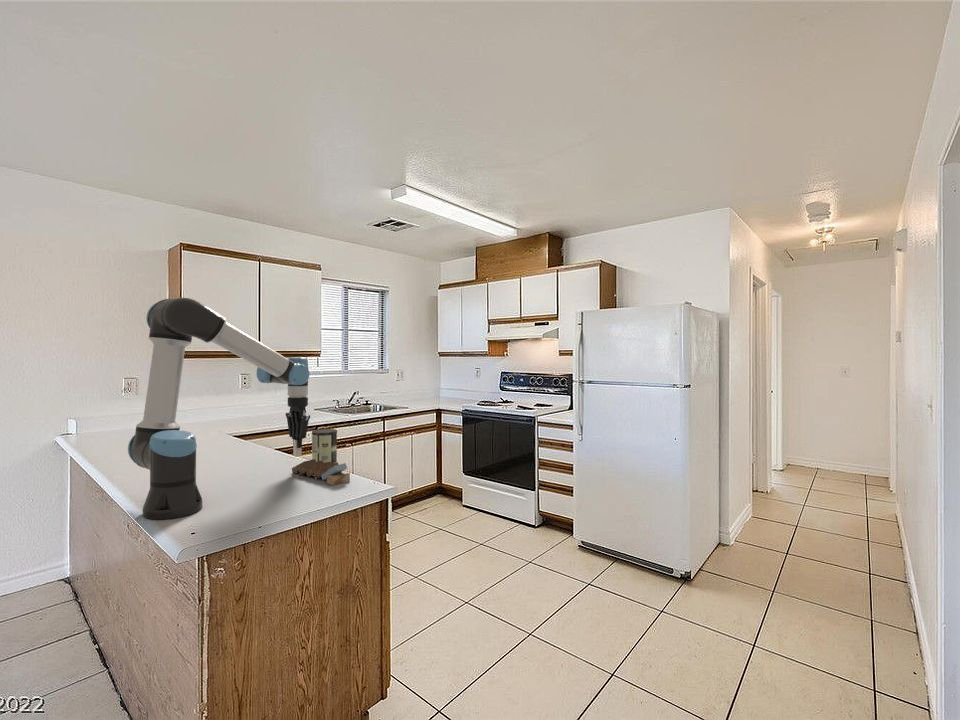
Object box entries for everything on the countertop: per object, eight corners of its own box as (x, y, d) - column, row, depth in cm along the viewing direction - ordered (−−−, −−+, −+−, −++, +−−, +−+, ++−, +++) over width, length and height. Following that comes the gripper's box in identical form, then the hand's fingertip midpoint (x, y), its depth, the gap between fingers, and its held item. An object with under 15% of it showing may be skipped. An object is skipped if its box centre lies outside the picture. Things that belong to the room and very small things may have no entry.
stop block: (332, 485, 175) (332, 477, 174) (326, 484, 176) (326, 475, 176) (349, 480, 181) (349, 472, 181) (344, 479, 183) (344, 471, 183)
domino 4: (326, 476, 186) (339, 467, 182) (315, 479, 182) (328, 469, 178) (324, 471, 187) (337, 462, 183) (313, 474, 183) (326, 464, 178)
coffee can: (328, 459, 214) (329, 427, 214) (341, 463, 207) (341, 430, 207) (306, 463, 207) (307, 430, 206) (319, 467, 199) (319, 433, 199)
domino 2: (311, 472, 192) (324, 465, 187) (300, 475, 188) (313, 467, 183) (309, 467, 192) (322, 460, 188) (298, 470, 188) (311, 462, 183)
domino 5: (333, 477, 184) (347, 468, 180) (322, 480, 180) (336, 470, 175) (331, 472, 185) (345, 463, 180) (320, 475, 180) (334, 465, 176)
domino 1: (303, 470, 194) (316, 463, 190) (292, 473, 190) (305, 466, 186) (302, 465, 195) (315, 459, 190) (291, 468, 191) (304, 461, 186)
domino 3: (319, 474, 189) (332, 466, 184) (307, 477, 185) (321, 468, 180) (317, 469, 190) (330, 461, 185) (306, 472, 185) (319, 463, 181)
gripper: (316, 396, 191) (315, 456, 192) (296, 394, 199) (295, 451, 199) (299, 398, 185) (299, 459, 186) (279, 395, 193) (279, 455, 193)
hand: (297, 455), depth 193 cm, fingers closed
